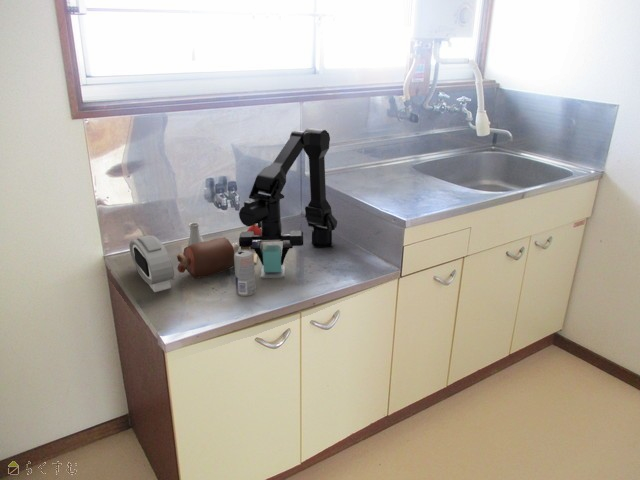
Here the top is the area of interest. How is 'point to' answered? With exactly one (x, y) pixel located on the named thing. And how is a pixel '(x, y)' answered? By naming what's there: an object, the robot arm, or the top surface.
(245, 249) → the tan wooden stamp
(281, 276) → the light grey base plate
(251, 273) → the energy drink
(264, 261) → the turquoise block
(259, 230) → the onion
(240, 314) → the top surface
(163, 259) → the alarm clock
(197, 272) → the meat
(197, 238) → the flask
